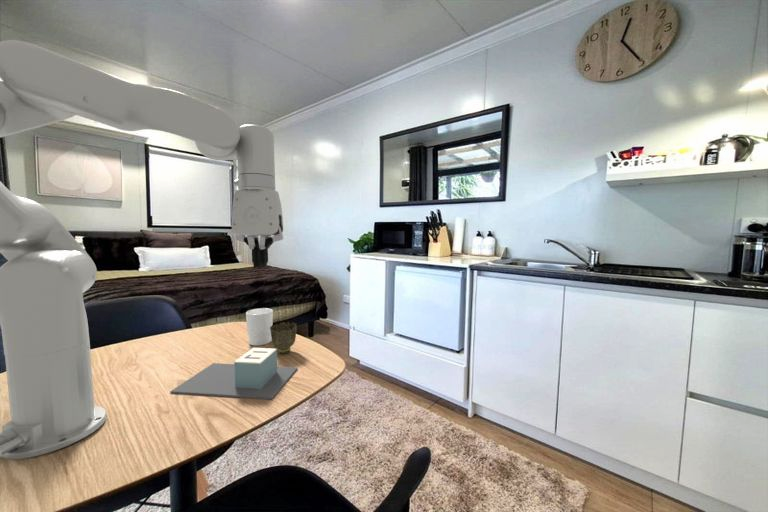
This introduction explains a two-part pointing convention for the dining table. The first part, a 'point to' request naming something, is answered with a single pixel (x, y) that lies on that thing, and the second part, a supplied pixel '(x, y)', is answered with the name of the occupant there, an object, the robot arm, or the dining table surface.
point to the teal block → (255, 368)
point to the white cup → (259, 326)
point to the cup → (283, 336)
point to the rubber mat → (231, 383)
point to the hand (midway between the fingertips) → (260, 266)
